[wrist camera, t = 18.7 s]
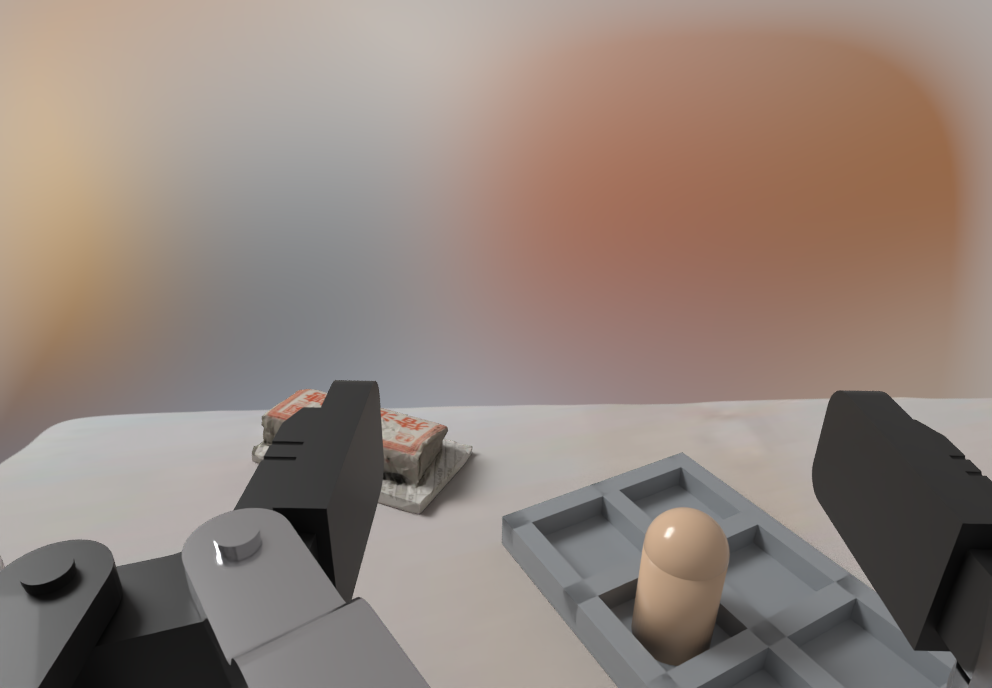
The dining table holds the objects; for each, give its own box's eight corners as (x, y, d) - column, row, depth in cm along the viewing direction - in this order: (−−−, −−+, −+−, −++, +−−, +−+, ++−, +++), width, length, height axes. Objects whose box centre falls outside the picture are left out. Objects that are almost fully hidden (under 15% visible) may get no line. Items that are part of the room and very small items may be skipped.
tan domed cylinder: (615, 620, 45) (630, 506, 41) (672, 592, 48) (692, 481, 43) (668, 678, 41) (691, 558, 37) (727, 645, 44) (755, 528, 40)
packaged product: (240, 420, 61) (311, 372, 69) (248, 465, 63) (316, 414, 71) (418, 472, 54) (474, 412, 62) (420, 521, 56) (474, 457, 64)
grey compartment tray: (501, 543, 53) (502, 516, 52) (678, 476, 61) (682, 452, 60) (775, 881, 32) (786, 849, 31) (988, 714, 40) (1003, 684, 39)
